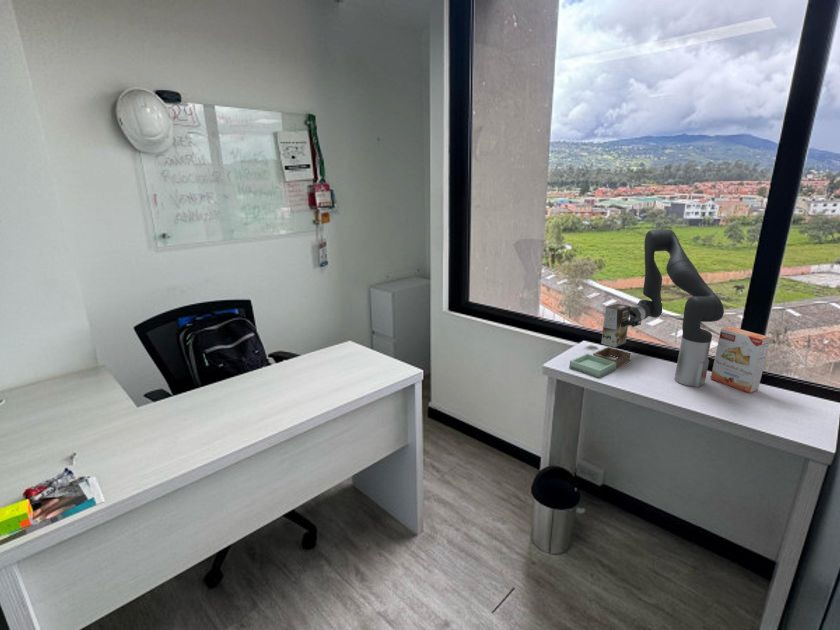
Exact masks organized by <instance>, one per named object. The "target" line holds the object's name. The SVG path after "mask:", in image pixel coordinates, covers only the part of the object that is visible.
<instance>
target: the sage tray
mask: <svg viewBox="0 0 840 630" xmlns="http://www.w3.org/2000/svg"><path fill="white" fill-rule="evenodd" d="M616 363H617V362H613V361H610V360H607V359H604V358H600V357H597V356H594V355H593V354H590V353H584V354H583V355H582V354H581V355H580V356H578V357H576V358H574V359H571V360H569V367H568V368H569V369H572V370H575V371H577V372H581V373H584V374H587V375H590V376H592V377H596V378H599V379H601V378H602V377H604V376H606V375H607V374H609V373H612V372H613V371H615V370H616V369H617V368H616Z"/></svg>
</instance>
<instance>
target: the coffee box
mask: <svg viewBox="0 0 840 630" xmlns="http://www.w3.org/2000/svg"><path fill="white" fill-rule="evenodd" d="M630 309H631V305H628V304H627V305H626V304H622V303H621V304H620V303H614V304H611V305H607V306H605V309H604V310H605V313H604V320H603V327H602V334H601V335H602V336H601V342H600V343H601V344H602V345H605V346H607V347H611V348H616V347H619V346H622V345H624V344H626V343H627V337H628V336H627V335H628V329H629V326H625V327H621V322H622V321H625V320H627V319H628V318H629V316H630Z"/></svg>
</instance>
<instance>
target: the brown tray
mask: <svg viewBox="0 0 840 630" xmlns="http://www.w3.org/2000/svg"><path fill="white" fill-rule="evenodd" d="M592 355H594V356H597V357H600V358H604V359H607V360H610V361H613V362H617V363H616V369H617V368H620V367H621V366H622V364H623V365H625V364H626V362H627V363H628V361H629V362H631V357H632V353H631V352H628V351H625V350H622V349H618V348H616V347H612V346H607V347H605V348H603V349H600V350H598V351H596V352H594V353H592ZM607 355H608V356H610V355H612V356H611V357H613V356H615V357H614V358H615V359H614V358H611V357H608V356H607ZM616 357H618V358H616ZM624 363H625V364H624Z"/></svg>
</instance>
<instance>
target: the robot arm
mask: <svg viewBox="0 0 840 630" xmlns="http://www.w3.org/2000/svg"><path fill="white" fill-rule="evenodd" d="M655 252H666V253H668V254H669V256H670V257H669V258H668V261H667V263H666V269H665V270H666V273H667V275H668V277H669V278H670V280H671V282H672V283H673V284H674V285H675V286H677V288H679V289H681V290H682V291H684V292H685V293H687V294H689V295H690V296H691V297H688V299H687V300H686V302H685V305H684V309H683V319H682V326H681V327H682V330H681V331H682V334H681V335H682V336H681V341H680V347H679V352H678V357H677V363H676V367H675V373H674V380H675V381H676V382H677V383H678V384H681V385H685V386H687V387H696V388H700V387H701V386H703V385H704V384H705V383H706V378H707V372H708V368H709V363H710V360H709V358H708V357H709V354H710V350H711V349H710V348H711V343H712V338H713V335H712V333H711V332H710V331H708V330H706V329H705V328H701V323H711V322H712V323H713V322H718V321H720V320H722V319H723V317H724V313H725V309H724V308H725V307H724V305H723V303H722V301H721V299H720V297H718V296H717V294H716V293H715V292H714V291H713V290H712V289H711V288H710V287H709V286H708V284H707V283H706V281H705V280H704V279H703V277H702V276H701V274H700V273H699V271H698V270H697V268H696V267H695V265H694V264H693V262H692V261H691V260H690V258H689V257H688V255H687V254H686V252H685V251H684V248H683V247H682V245H681V243H680V241H679V238H678V237H677V235H676V233H675V232H674V230H673V229H668V228H666V229H651V230H648V231H647V232H646V235H645V237H644V282H643V289H642V294H643V296H645V297H647V298H648V299H641V300H639V301H638V302H637V304H635V305H632V306H631V305H630V306H631V309H630V316H629V318H628V319H627V320H625V321H622V322H621V327H625V326H628V327H630V326H631V327H632V328H635V327H637V326H641V325H642V321H643V320H645V319H648V317H650V318H654V319H655V318H659V317H660V316H661V315H662V314H663V311H662V306H663V302H662V303H661V301H662V293H661V292H662V285H663V277H662V273H661V271H660V269H659V267H658V266H657V263H656V260H655ZM649 299H650V300H649ZM661 313H662V314H661Z"/></svg>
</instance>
